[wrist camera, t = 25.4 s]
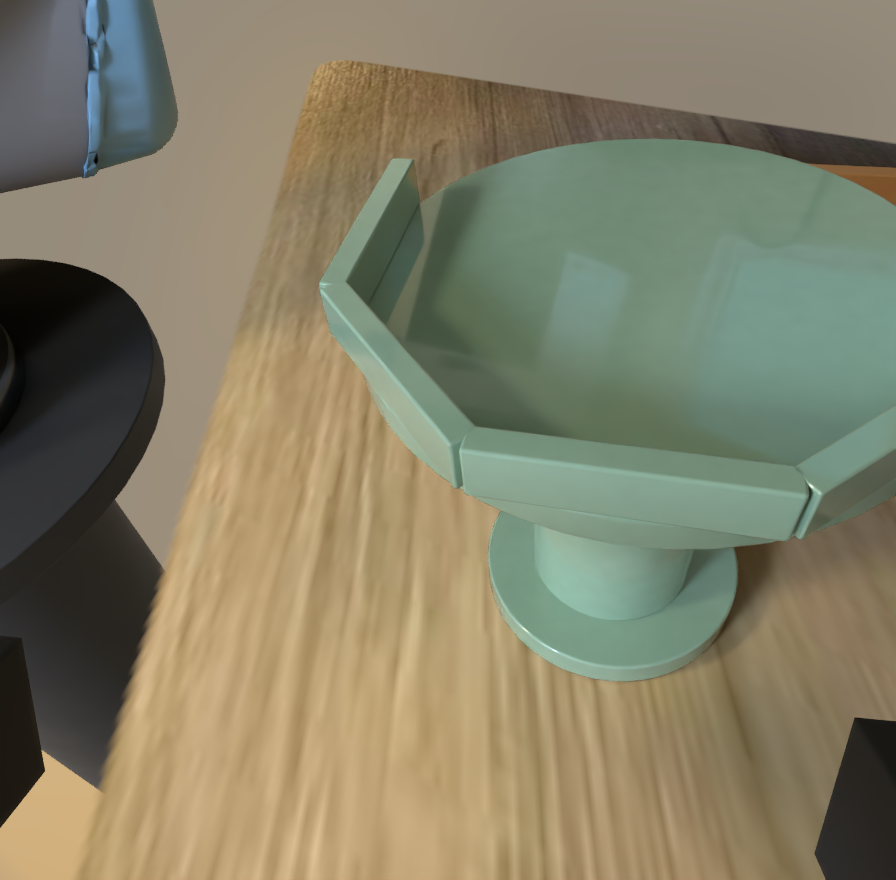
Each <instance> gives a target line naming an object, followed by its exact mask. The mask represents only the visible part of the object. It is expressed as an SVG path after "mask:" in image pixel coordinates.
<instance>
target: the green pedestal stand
mask: <svg viewBox="0 0 896 880" xmlns="http://www.w3.org/2000/svg"><path fill="white" fill-rule="evenodd" d="M419 202H420V199H419V192H418V184H417V176H416V168H415V161H414V159H402V158H393V159H392V160H391V161H390V163H389V165H388V166H387V168H386V170H385V171H384V173H383V175H382V177H381V178H380V180H379V182H378V183H377V185H376V187H375V188H374V190H373V192H372V193H371V195H370V197H369V199H368V200H367V202H366V204H365V205H364V207H363V209H362V210H361V212H360V214H359V216H358V217H357V219H356V221H355V222H354V224H353V226H352V227H351V229H350V231H349V233H348V234H347V236H346V238H345V239H344V241H343V243H342V244H341V246H340V248H339V250H338V251H337V253H336V255H335V256H334V258H333V260H332V261H331V263H330V265H329V266H328V268H327V270H326V272H325V273H324V275H323V277H322V278H321V280H320V282H319V287H320V294H321V298H322V302H323V306H324V309H325V313H326V317H327V320H328V324H329V328H330V332H331V334H332V335H333V336H334V338H335V339H336V340H337V341H338V343H339V344H340V345H341V346H342V348H343V349H344V350H345V351H346V353H347V354H348V355H349V356H350V358H351V359H352V360H353V361H354V363H355V364H356V365H357V367H358V368H359V369H360V370H361V372H362V373H363V377H364V380H365V382H366V384H367V387H368V389H369V392H370V394H371V396H372V399H373V401H374V403H375V405H376V407H377V408H378V410H379V411H380V413H381V414H382V416H383V417H384V419H385V421H386V422H387V424H388V425H389V427H390V428H391V430H392V431H393V432H394V433H395V434H396V435H397V436H398V437H399V438H400V439H401V441H402V442H403V443H404V444H405V445H406V446H407V447H408V448H409V449H410V450H411V452H412V453H413V454H414V455H415V456H417V457H418V458H419V459H420V460H421V461H423V462H424V463H425V464H426V465H428V466H429V467H430V468H431V469H432V470H434V471H435V472H436V473H437V474H439V475H440V476H441V477H442V478H444V479H445V480H447V481H448V482H449V483H450V484H451V485H452V486H453V487H454V488H455V489H458V488H460V489H461V490H463V491H464V493H465V494H466V495H470V496H473V497H474V498H476V499H477V500H479V501H481V502H483V503H486V504H488V505H490V506H492V507H494V508H497V509H499V510H501V511H500V513H499V515H498V517H497V519H496V521H495V523H494V526H493V529H492V532H491V536H490V541H489V547H488V564H489V575H490V582H491V588H492V592H493V595H494V599H495V602H496V604H497V606H498V608H499V610H500V613H501V615H502V616H503V618H504V619H505V621H506V622H507V624H508V626H509V627H510V628H511V629H512V631H513V632H514V633H515V634H516V635H517V637H518V638H519V639H520V640H521V641H522V642H523V643H525V644H526V645H527V646H528V647H529V648H530V649H531V650H532V651H534V652H535V653H537V654H538V655H539V656H541V657H542V658H544V659H545V660H547V661H549V662H551V663H553V664H554V665H556V666H558V667H560V668H562V669H565V670H567V671H570V672H572V673H575V674H578V675H582V676H585V677H589V678H593V679H600V680H607V681H636V680H644V679H650V678H654V677H658V676H662V675H665V674H667V673H670V672H672V671H675V670H677V669H679V668H681V667H683V666H685V665H686V664H688V663H690V662H692V661H693V660H694V659H696V658H697V657H698V656H699V655H701V654H702V653H703V652H704V651H705V650H706V649H707V648H708V647H709V646H710V645H711V644H712V643H713V642H714V641H715V639H716V638H717V636H718V635H719V633H720V632H721V630H722V629H723V627H724V624H725V622H726V620H727V617H728V615H729V613H730V610H731V608H732V605H733V603H734V599H735V595H736V591H737V585H738V564H737V557H736V553H735V549H734V547H741V546H749V545H758V544H766V543H772V542H776V541H783V542H786V541H789V540H790V538H793V537H797V538H798V539H800V540H801V539H804V538H805V537H807V536H808V535H810V534H811V533H814V532H817V531H820V530H822V529H825V528H827V527H830V526H833V525H835V524H838V523H841V522H843V521H846V520H849V519H851V518H854V517H856V516H859V515H861V514H863V513H865V512H867V511H868V510H870V509H872V508H874V507H876V506H877V505H879V504H881V503H883V502H885V501H886V500H888V499H890V498H892V497H894V496H895V495H896V206H895V205H894V204H892V203H891V202H889V201H888V200H886V199H885V198H883V197H881V196H879V195H877V194H876V193H874V192H872V191H870V190H868V189H866V188H864V187H862V186H860V185H858V184H856V183H855V182H852V181H850V180H848V179H845V178H843V177H840V176H838V175H836V174H833V173H831V172H829V171H826V170H824V169H821V168H818V167H815V166H812V165H809V164H806V163H803V162H800V161H797V160H794V159H790V158H787V157H783V156H779V155H775V154H771V153H767V152H763V151H759V150H753V149H748V148H743V147H738V146H732V145H726V144H718V143H710V142H702V141H691V140H675V139H622V140H605V141H595V142H587V143H579V144H571V145H566V146H561V147H555V148H550V149H545V150H540V151H537V152H533V153H529V154H525V155H521V156H518V157H514V158H511V159H508V160H505V161H502V162H499V163H496V164H493V165H490V166H488V167H485V168H483V169H481V170H478V171H476V172H474V173H471V174H469V175H467V176H465V177H462V178H460V179H458V180H457V181H455V182H453V183H451V184H449V185H447V186H446V187H444V188H442V189H440V190H438V191H437V192H435V193H434V194H432V195H431V196H429V197H428V198H427V199H425V200H424V201H422V202H421V203H419Z"/></svg>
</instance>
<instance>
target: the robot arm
mask: <svg viewBox="0 0 896 880" xmlns="http://www.w3.org/2000/svg"><path fill="white" fill-rule="evenodd" d="M177 121H178V110H177V103H176V99H175V94H174V89H173V85H172V81H171V76H170V72H169V68H168V63H167V59H166V54H165V50H164V46H163V42H162V37H161V33H160V29H159V25H158V21H157V17H156V12H155V8H154V4H153V0H0V193H4V192H8V191H13V190H18V189H22V188H28V187H33V186H37V185H42V184H47V183H52V182H57V181H62V180H67V179H72V178H77V177H82V178H88V177H90V176H94V175H95V174H97V172H98V170H100V169H103V168H107V167H110V166H114V165H117V164H121V163H124V162H128V161H131V160H134V159H138V158H141V157H145V156H148V155H152V154H154V153H156V152H157V151H158V150H160V149H161V148H163V146H164V145H165V144H166V143H167V142H168V141H169V140H170V139H171V137H172V136H173V133H174V131H175V128H176V126H177ZM25 380H26V369H25V363H24V360H23V357H22V354H21V353H20V351H19V349H18V348H17V346H16V345H15V343H14V342H13V340H12V339H11V338H10V336H9V335H8V333H7V332H6V330H5V329H4V327H3V326H2V325H1V324H0V433H1V432H2V430H3V429H4V428H5V426H6V425H7V423H8V422H9V420H10V419H11V417H12V415H13V414H14V412H15V410H16V408H17V406H18V404H19V401H20V399H21V396H22V393H23V390H24V385H25ZM44 772H45V768H44V763H43V757H42V752H41V746H40V740H39V735H38V729H37V723H36V718H35V712H34V706H33V701H32V695H31V690H30V684H29V678H28V673H27V667H26V661H25V656H24V650H23V645H22V639H21V638H17V637H6V636H0V827H1V826H2V825H3V824H4V823H5V821H6V820H7V819H8V817H9V816H10V815H11V813H12V812H13V811H14V810H15V809H16V807H17V806H18V805H19V803H20V802H21V801H22V800H23V798H24V797H25V796H26V795H27V793H28V792H29V791H30V790H31V788H32V787H33V786H34V784H35V783H36V782H37V781H38V779H39V778H40V777H41V776H42V774H43V773H44ZM815 856H816V858H817V860H818V863H819V865H820V867H821V869H822V872H823V874H824V876H825V878H826V880H896V721H885V720H875V719H864V718H854V722H853V725H852V729H851V732H850V735H849V739H848V742H847V745H846V749H845V752H844V756H843V759H842V762H841V766H840V769H839V772H838V776H837V779H836V783H835V786H834V789H833V793H832V796H831V800H830V803H829V806H828V810H827V813H826V816H825V820H824V823H823V827H822V830H821V833H820V837H819V840H818V844H817V847H816V850H815Z"/></svg>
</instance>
